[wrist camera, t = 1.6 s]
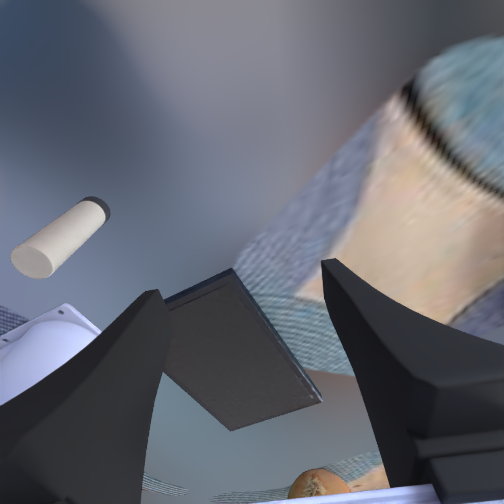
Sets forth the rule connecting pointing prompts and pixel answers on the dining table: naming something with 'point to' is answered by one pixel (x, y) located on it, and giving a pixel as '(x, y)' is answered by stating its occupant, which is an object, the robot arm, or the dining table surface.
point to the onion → (317, 484)
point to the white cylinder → (59, 239)
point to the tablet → (233, 355)
